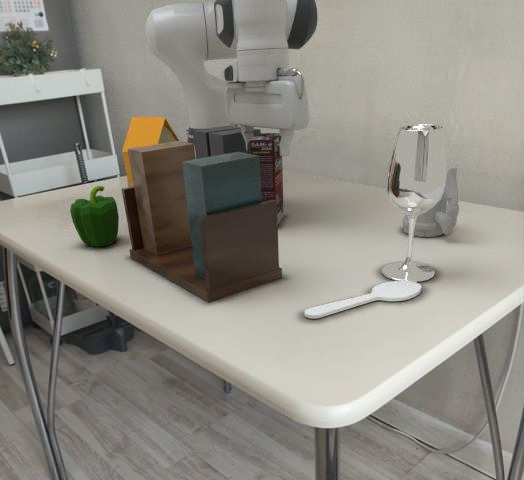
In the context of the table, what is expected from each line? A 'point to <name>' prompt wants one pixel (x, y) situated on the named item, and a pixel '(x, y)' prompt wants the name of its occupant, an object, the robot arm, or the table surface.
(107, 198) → the bell pepper
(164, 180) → the book rack
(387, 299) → the spoon
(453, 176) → the grey curved piece
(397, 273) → the wineglass
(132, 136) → the orange juice
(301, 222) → the table surface
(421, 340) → the table surface
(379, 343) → the table surface
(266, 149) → the supplement box
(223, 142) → the grey books
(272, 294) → the table surface
